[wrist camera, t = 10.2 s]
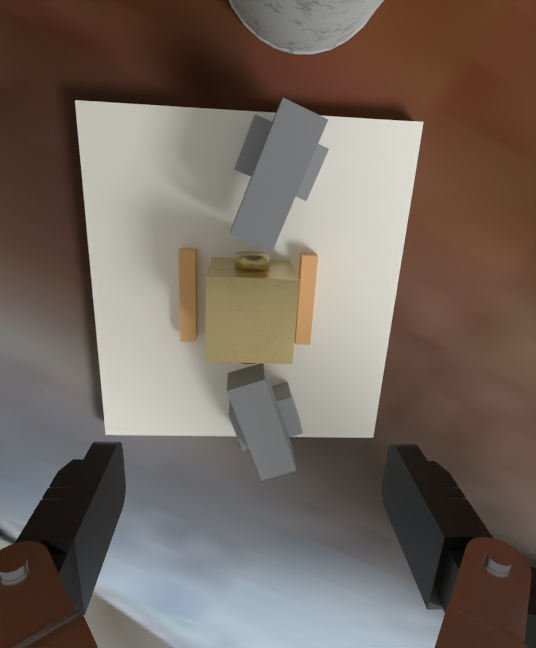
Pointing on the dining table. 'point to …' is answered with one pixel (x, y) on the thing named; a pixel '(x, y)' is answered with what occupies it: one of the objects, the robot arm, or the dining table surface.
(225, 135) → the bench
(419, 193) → the dining table surface
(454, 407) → the dining table surface
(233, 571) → the dining table surface
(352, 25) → the gray cylinder
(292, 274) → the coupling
